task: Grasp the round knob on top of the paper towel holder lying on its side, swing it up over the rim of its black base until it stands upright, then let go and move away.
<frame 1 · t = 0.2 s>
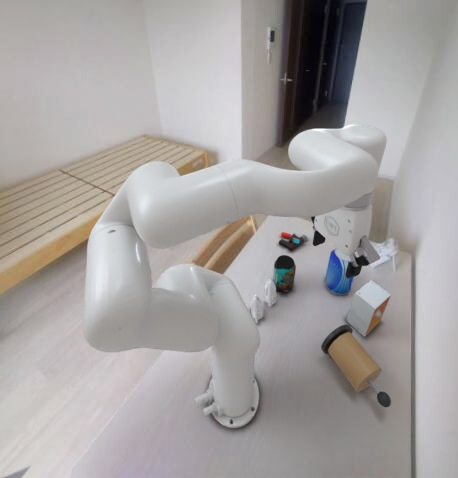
hand: (334, 258, 58), 36 cm above the table, tool pointing down, fingers open, 9 cm apart
blue striped vase: (336, 286, 94), on the table
towel holder: (359, 368, 67), point 5 cm above the table, hinge at -0.1°
small box: (362, 322, 83), on the table
beverage can: (282, 286, 94), on the table
toy gun: (291, 241, 114), on the table
shaker set: (263, 307, 87), on the table
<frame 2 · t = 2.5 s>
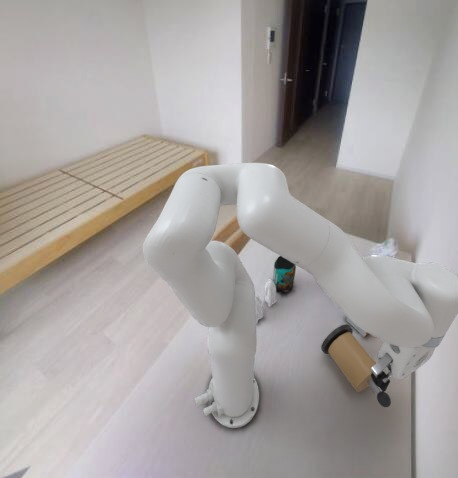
hand: (394, 371, 57), 16 cm above the table, tool pointing down, fingers open, 9 cm apart
nothing on the table moved.
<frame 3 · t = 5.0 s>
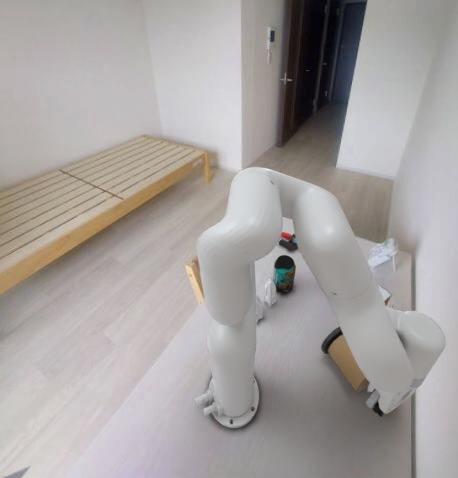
hand: (380, 404, 63), 2 cm above the table, tool pointing down, fingers closed on towel holder, 2 cm apart
towel holder: (359, 368, 67), point 5 cm above the table, hinge at -0.1°, touching gripper
everything else where it was.
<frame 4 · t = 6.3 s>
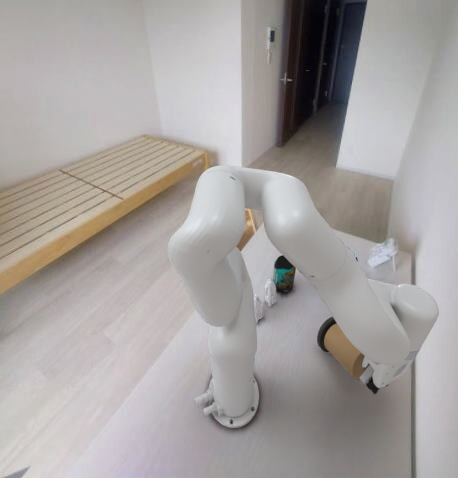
hand: (375, 382, 63), 7 cm above the table, tool pointing down, fingers closed on towel holder, 2 cm apart
towel holder: (355, 355, 67), point 8 cm above the table, hinge at 18.4°, touching gripper
everything else where it was.
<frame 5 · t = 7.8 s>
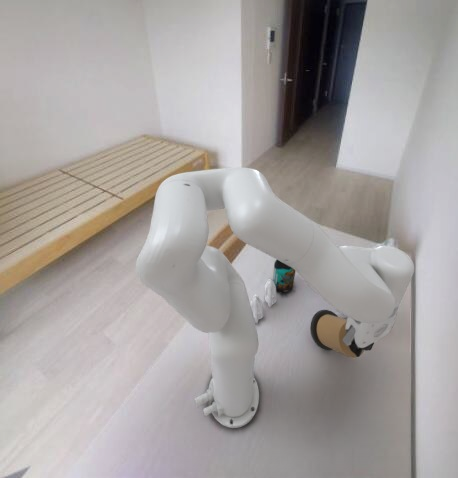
hand: (359, 347, 65), 12 cm above the table, tool pointing down, fingers closed on towel holder, 2 cm apart
towel holder: (345, 336, 70), point 10 cm above the table, hinge at 44.8°, touching gripper
everything else where it was.
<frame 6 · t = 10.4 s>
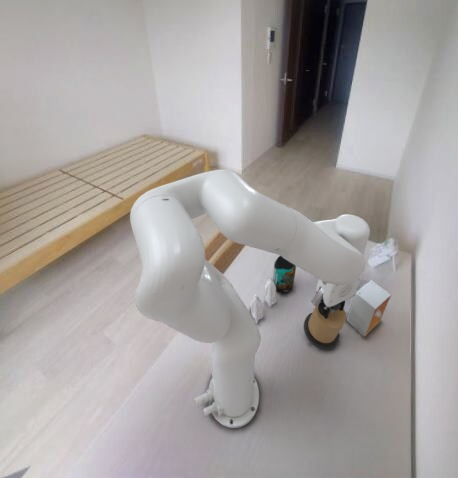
hand: (330, 309, 73), 12 cm above the table, tool pointing down, fingers open, 4 cm apart
towel holder: (328, 317, 75), point 9 cm above the table, hinge at 81.7°
everything else where it was.
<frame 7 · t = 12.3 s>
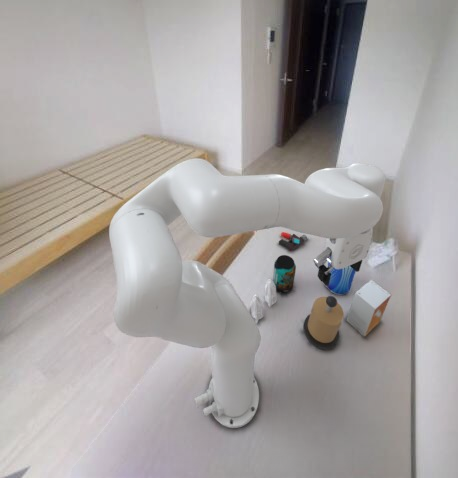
hand: (338, 274, 66), 27 cm above the table, tool pointing down, fingers open, 9 cm apart
towel holder: (326, 315, 75), point 9 cm above the table, hinge at 85.9°
everything else where it was.
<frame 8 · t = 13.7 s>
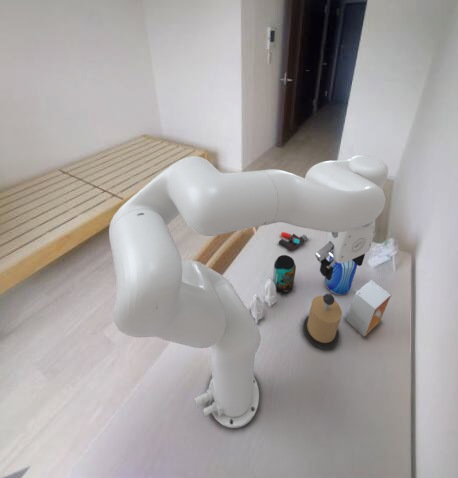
hand: (340, 268, 66), 28 cm above the table, tool pointing down, fingers open, 9 cm apart
towel holder: (324, 314, 76), point 8 cm above the table, hinge at 89.6°
everything else where it was.
at the end: towel holder at +90° (first picture: +0°); the gripper is holding nothing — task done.
